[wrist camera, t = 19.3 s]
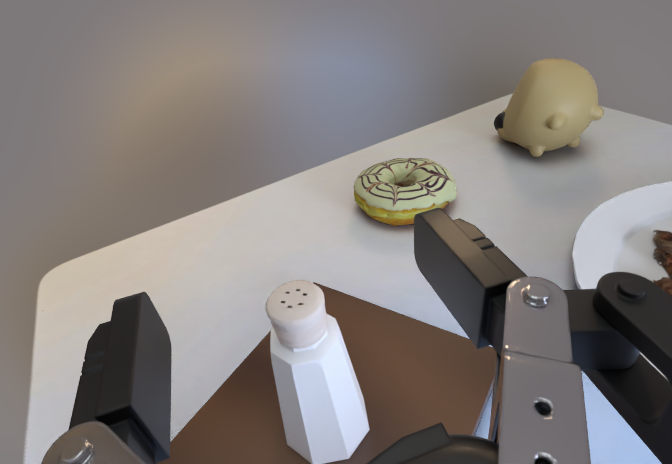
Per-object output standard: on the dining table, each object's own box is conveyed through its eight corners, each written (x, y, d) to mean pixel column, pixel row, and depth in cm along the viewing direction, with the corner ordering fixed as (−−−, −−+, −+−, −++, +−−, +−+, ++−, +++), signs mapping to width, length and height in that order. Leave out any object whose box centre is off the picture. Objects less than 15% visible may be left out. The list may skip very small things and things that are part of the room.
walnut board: (358, 742, 17) (354, 739, 16) (125, 515, 25) (113, 504, 24) (501, 364, 30) (504, 351, 29) (316, 294, 38) (313, 282, 37)
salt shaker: (359, 477, 23) (333, 354, 17) (270, 456, 25) (215, 336, 18) (378, 391, 28) (363, 264, 21) (301, 377, 29) (264, 255, 23)
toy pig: (563, 161, 57) (535, 92, 59) (634, 117, 45) (596, 32, 47) (498, 177, 55) (471, 105, 57) (553, 135, 43) (517, 46, 46)
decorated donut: (475, 207, 45) (477, 176, 43) (391, 245, 42) (389, 214, 39) (415, 170, 53) (415, 142, 50) (340, 200, 49) (336, 172, 47)
